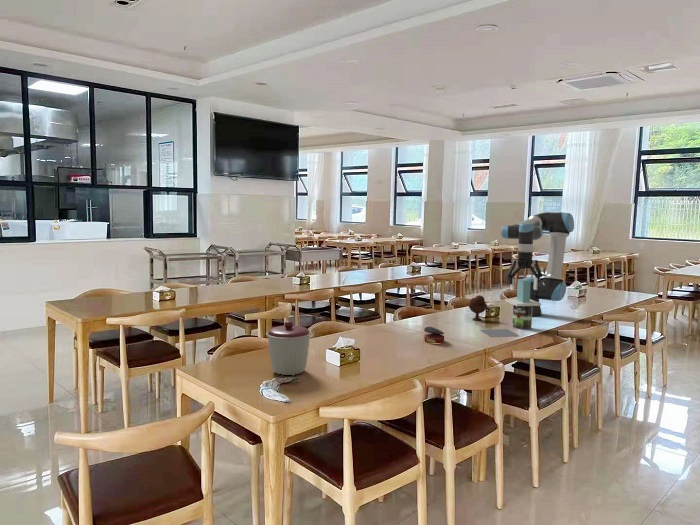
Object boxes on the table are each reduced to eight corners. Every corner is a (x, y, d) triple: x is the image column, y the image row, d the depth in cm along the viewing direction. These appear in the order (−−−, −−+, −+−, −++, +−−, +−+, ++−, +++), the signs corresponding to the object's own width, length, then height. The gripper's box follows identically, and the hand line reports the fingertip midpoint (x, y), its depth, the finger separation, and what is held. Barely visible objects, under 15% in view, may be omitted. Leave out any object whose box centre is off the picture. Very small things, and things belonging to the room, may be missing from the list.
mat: (507, 330, 284) (507, 329, 284) (520, 337, 268) (520, 336, 268) (479, 330, 282) (479, 329, 282) (491, 338, 266) (491, 337, 266)
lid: (529, 300, 295) (530, 277, 293) (541, 305, 281) (542, 281, 279) (505, 301, 293) (506, 278, 291) (516, 306, 279) (517, 281, 278)
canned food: (423, 350, 260) (417, 331, 263) (440, 346, 264) (434, 327, 267) (433, 345, 250) (427, 325, 253) (451, 341, 254) (444, 321, 257)
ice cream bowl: (484, 318, 314) (485, 293, 312) (487, 322, 303) (488, 297, 301) (466, 317, 315) (467, 293, 313) (469, 321, 304) (470, 296, 302)
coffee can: (526, 331, 281) (528, 306, 280) (509, 328, 288) (510, 303, 287) (534, 328, 289) (536, 303, 287) (517, 325, 296) (518, 301, 294)
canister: (277, 363, 222) (277, 315, 219) (317, 367, 216) (317, 317, 214) (258, 376, 204) (257, 324, 202) (301, 381, 199) (301, 327, 197)
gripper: (543, 250, 289) (541, 288, 291) (500, 251, 286) (499, 289, 288) (550, 251, 282) (548, 290, 284) (506, 252, 278) (505, 291, 281)
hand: (523, 289), depth 286 cm, fingers open, 13 cm apart
